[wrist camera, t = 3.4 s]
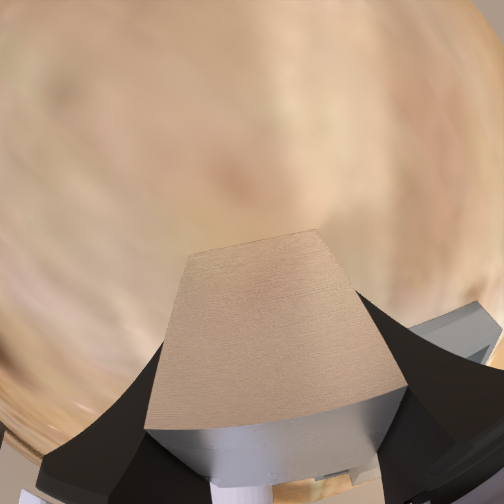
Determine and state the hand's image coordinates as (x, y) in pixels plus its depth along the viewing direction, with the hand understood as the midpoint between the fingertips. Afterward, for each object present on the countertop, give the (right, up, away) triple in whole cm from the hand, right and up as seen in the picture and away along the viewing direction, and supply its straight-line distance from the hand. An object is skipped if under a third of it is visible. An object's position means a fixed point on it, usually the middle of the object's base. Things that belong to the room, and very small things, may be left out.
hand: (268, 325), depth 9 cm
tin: (0, +1, +2) cm, 2 cm away
